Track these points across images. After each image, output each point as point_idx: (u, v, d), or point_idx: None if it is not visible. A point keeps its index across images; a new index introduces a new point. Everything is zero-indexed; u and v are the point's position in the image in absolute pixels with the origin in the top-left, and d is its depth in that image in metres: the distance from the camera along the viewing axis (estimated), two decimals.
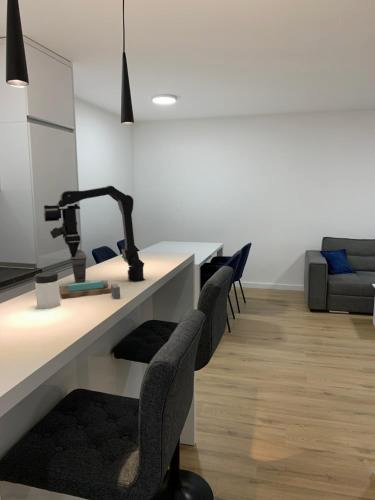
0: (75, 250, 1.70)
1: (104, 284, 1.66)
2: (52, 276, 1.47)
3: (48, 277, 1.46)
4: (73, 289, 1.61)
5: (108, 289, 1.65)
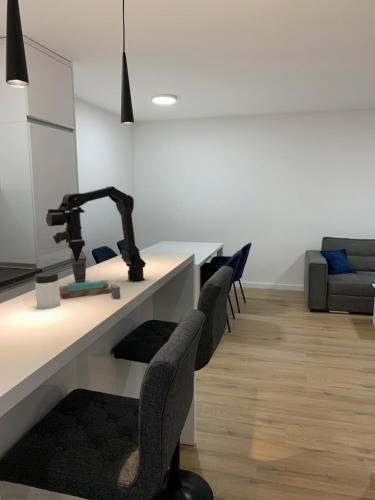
0: (78, 254, 1.67)
1: (104, 284, 1.66)
2: (52, 276, 1.47)
3: (48, 277, 1.46)
4: (73, 289, 1.61)
5: (108, 289, 1.65)
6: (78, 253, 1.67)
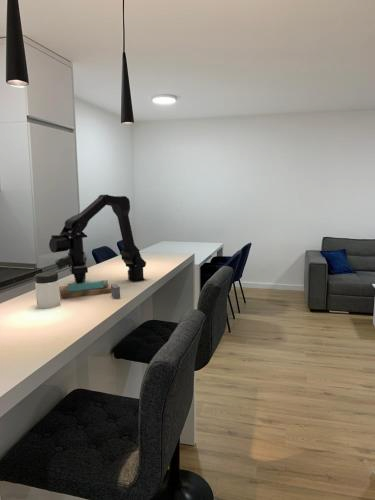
0: (81, 279, 1.65)
1: (104, 284, 1.66)
2: (52, 276, 1.47)
3: (48, 277, 1.46)
4: (73, 289, 1.61)
5: (108, 289, 1.65)
6: (81, 278, 1.64)
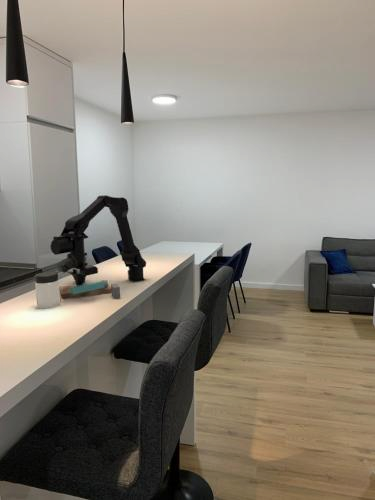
0: (82, 281, 1.62)
1: (105, 284, 1.66)
2: (52, 276, 1.47)
3: (48, 277, 1.46)
4: (78, 291, 1.58)
5: (108, 289, 1.65)
6: (82, 280, 1.61)
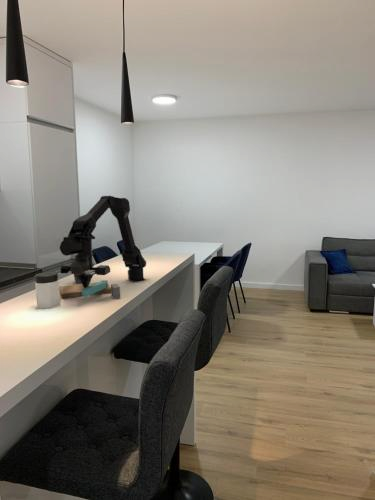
0: (88, 282, 1.58)
1: (107, 283, 1.66)
2: (52, 276, 1.47)
3: (48, 277, 1.46)
4: (90, 293, 1.55)
5: (108, 289, 1.65)
6: (89, 281, 1.58)
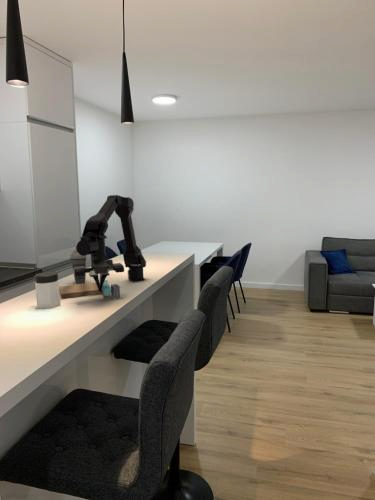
0: None
1: None
2: (52, 276, 1.47)
3: (48, 277, 1.46)
4: None
5: None
6: None
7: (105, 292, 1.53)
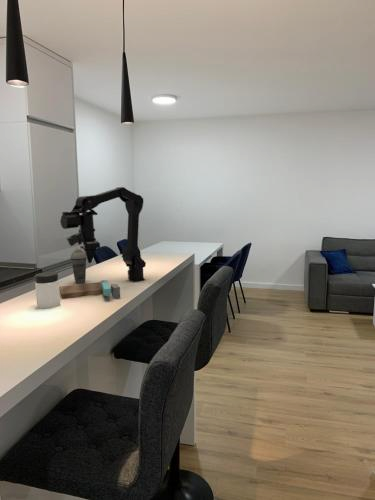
0: (92, 255, 1.70)
1: None
2: (52, 276, 1.47)
3: (48, 277, 1.46)
4: None
5: None
6: (92, 255, 1.69)
7: (105, 292, 1.53)
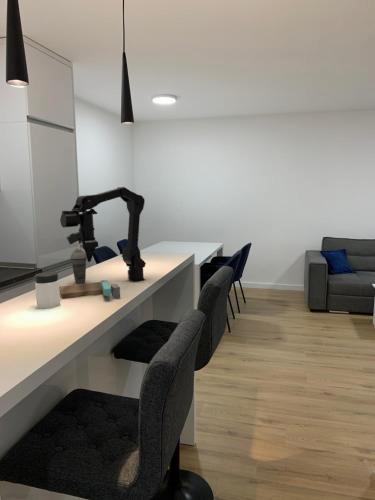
0: (91, 254, 1.71)
1: None
2: (52, 276, 1.47)
3: (48, 277, 1.46)
4: None
5: None
6: (91, 254, 1.70)
7: (105, 292, 1.53)
